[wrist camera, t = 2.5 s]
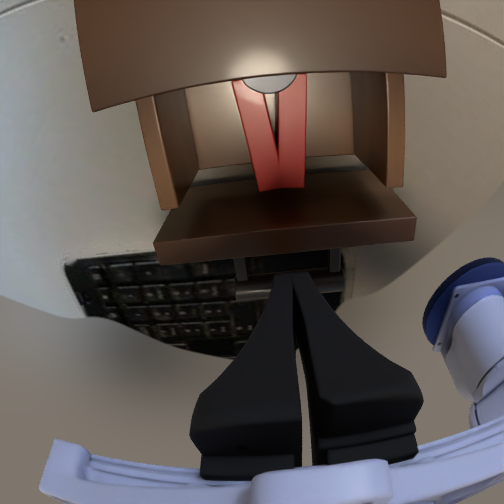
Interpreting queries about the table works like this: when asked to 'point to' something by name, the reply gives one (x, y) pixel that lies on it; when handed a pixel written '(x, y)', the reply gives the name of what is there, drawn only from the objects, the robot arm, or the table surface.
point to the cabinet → (249, 42)
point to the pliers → (286, 128)
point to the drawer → (282, 199)
